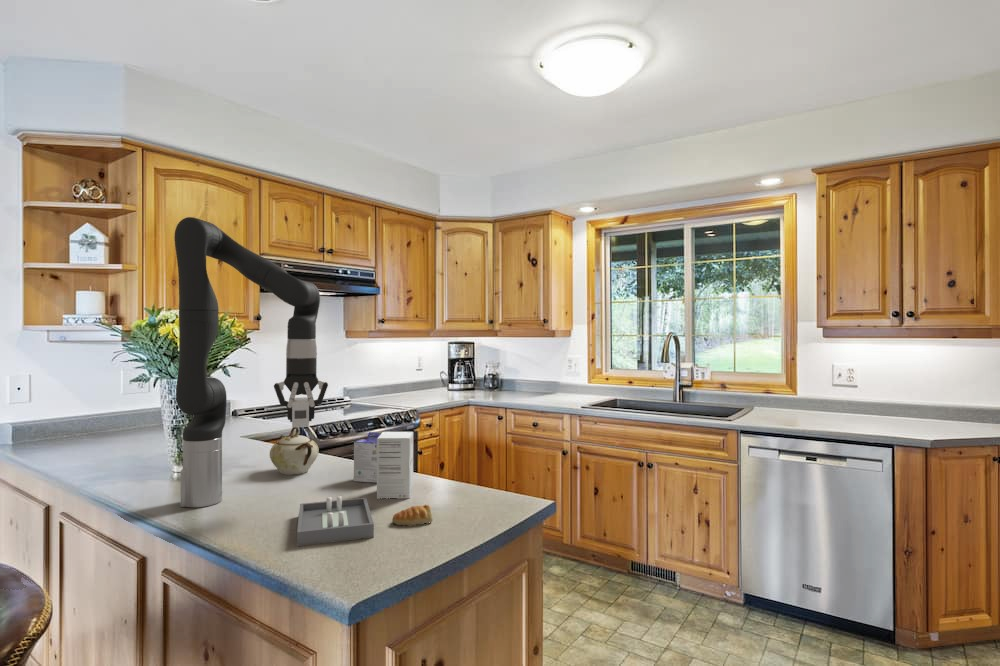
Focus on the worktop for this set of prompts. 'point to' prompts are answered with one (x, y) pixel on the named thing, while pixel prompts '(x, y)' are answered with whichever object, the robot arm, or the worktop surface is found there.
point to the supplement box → (394, 465)
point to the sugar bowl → (294, 453)
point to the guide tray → (334, 521)
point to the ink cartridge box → (366, 459)
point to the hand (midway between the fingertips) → (301, 420)
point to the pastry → (413, 516)
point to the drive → (300, 412)
